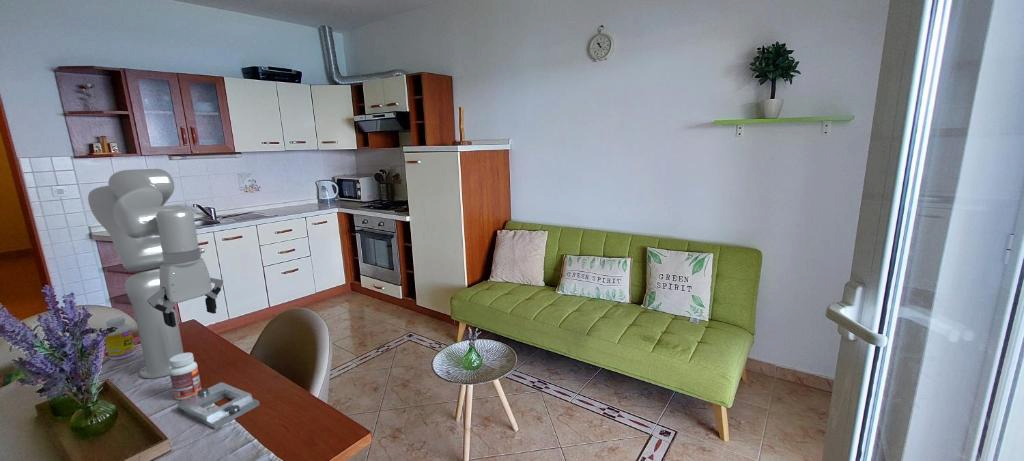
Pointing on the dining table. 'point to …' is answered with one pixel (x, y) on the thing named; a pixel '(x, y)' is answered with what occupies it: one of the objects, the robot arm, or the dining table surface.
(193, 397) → the slotted white bracket
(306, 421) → the dining table surface
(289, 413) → the dining table surface
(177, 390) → the pill bottle
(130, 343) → the supplement bottle
